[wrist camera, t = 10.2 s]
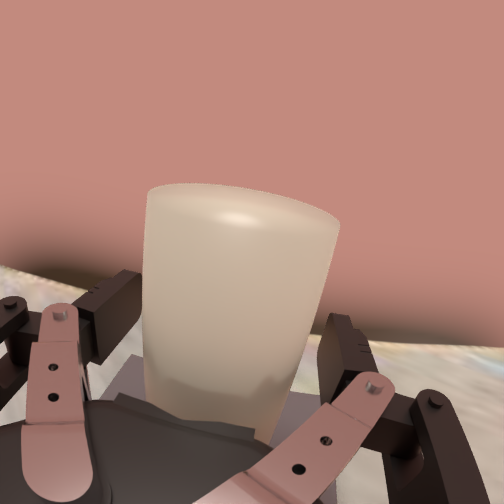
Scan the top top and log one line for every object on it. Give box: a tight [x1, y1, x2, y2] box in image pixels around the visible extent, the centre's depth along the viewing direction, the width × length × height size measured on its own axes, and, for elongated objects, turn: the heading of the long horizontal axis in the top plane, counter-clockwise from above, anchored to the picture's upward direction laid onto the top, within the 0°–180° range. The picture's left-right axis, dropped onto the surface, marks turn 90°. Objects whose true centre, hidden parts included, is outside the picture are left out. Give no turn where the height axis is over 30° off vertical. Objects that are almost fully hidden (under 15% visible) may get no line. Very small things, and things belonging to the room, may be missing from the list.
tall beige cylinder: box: [142, 183, 340, 445], centre depth 10 cm, size 5×5×13 cm
